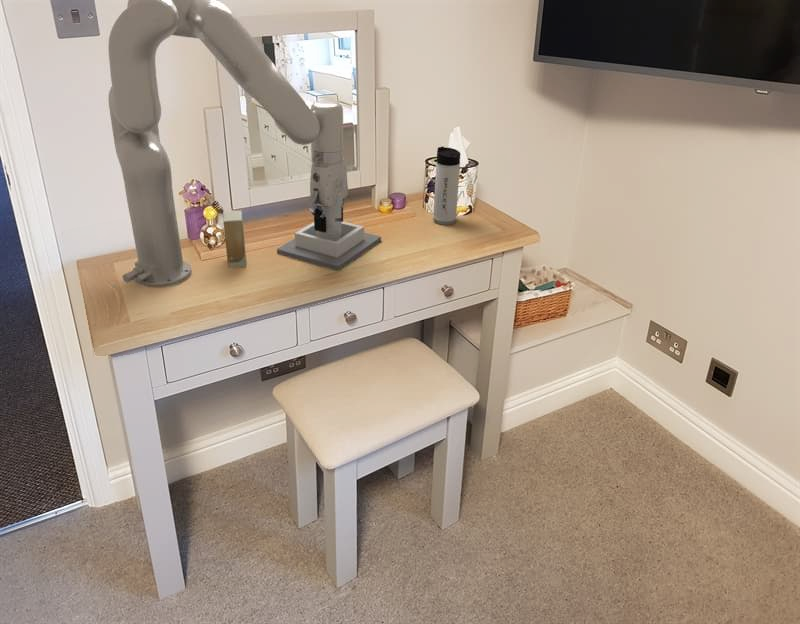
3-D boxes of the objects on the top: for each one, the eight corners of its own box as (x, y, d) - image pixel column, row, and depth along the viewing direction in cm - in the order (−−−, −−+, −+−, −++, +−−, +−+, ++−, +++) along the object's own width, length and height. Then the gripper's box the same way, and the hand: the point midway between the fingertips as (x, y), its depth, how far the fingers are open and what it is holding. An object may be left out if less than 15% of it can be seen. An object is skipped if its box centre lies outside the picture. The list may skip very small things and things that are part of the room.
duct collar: (338, 270, 163) (338, 252, 161) (277, 253, 170) (276, 235, 168) (380, 240, 178) (381, 224, 176) (323, 226, 186) (322, 209, 183)
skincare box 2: (317, 241, 171) (316, 194, 164) (316, 233, 174) (315, 187, 168) (342, 240, 171) (341, 194, 165) (341, 233, 175) (340, 187, 169)
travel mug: (443, 214, 195) (447, 144, 185) (460, 221, 191) (465, 150, 181) (427, 219, 191) (431, 148, 181) (444, 227, 187) (449, 155, 177)
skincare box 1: (228, 257, 168) (222, 210, 162) (246, 256, 169) (241, 209, 162) (228, 269, 162) (222, 220, 156) (246, 267, 163) (242, 219, 157)
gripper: (319, 168, 154) (321, 241, 163) (360, 149, 168) (360, 217, 177) (292, 162, 157) (295, 234, 166) (334, 144, 171) (335, 211, 180)
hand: (329, 225), depth 171 cm, fingers closed on skincare box 2, 6 cm apart
